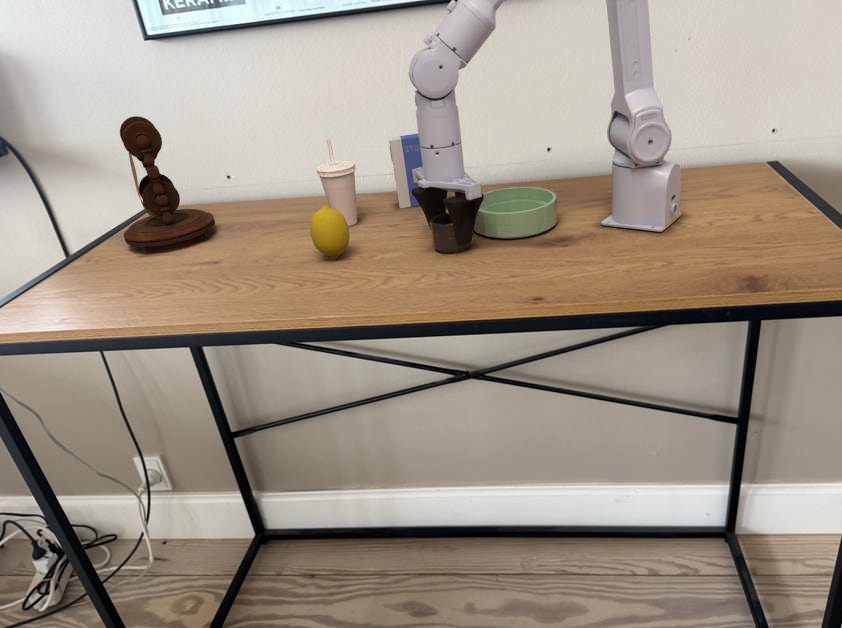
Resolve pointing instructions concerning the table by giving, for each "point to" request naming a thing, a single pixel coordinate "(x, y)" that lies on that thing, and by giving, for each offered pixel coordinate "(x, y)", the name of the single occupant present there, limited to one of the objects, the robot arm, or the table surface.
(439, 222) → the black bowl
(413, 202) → the walkman
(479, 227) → the sage bowl
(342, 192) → the smoothie
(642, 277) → the table surface
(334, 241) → the lemon
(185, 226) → the brown pulley stand
